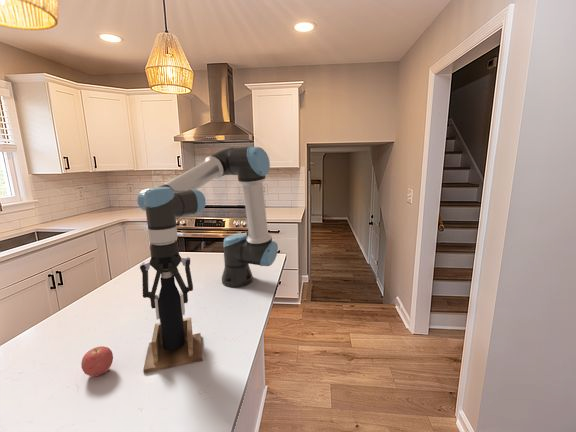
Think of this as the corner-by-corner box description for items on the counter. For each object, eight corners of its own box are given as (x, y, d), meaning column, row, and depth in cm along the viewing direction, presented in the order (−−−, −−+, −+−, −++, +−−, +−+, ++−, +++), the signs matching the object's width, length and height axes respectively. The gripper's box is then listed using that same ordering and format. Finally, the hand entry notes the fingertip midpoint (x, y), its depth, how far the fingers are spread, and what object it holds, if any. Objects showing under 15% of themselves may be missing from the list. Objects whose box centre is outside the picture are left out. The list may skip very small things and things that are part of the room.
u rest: (200, 336, 99) (199, 314, 97) (202, 360, 87) (200, 336, 85) (149, 345, 94) (146, 323, 92) (143, 373, 82) (140, 347, 80)
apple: (110, 379, 80) (106, 353, 78) (79, 385, 78) (75, 359, 76) (117, 361, 87) (114, 337, 85) (89, 366, 85) (85, 342, 83)
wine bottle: (177, 352, 86) (168, 255, 80) (158, 349, 87) (147, 254, 81) (189, 339, 92) (181, 248, 86) (170, 336, 93) (161, 247, 87)
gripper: (198, 235, 89) (203, 303, 94) (128, 241, 83) (137, 314, 88) (199, 241, 82) (204, 315, 87) (123, 248, 76) (133, 327, 81)
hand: (171, 314), depth 87 cm, fingers closed on wine bottle, 6 cm apart
